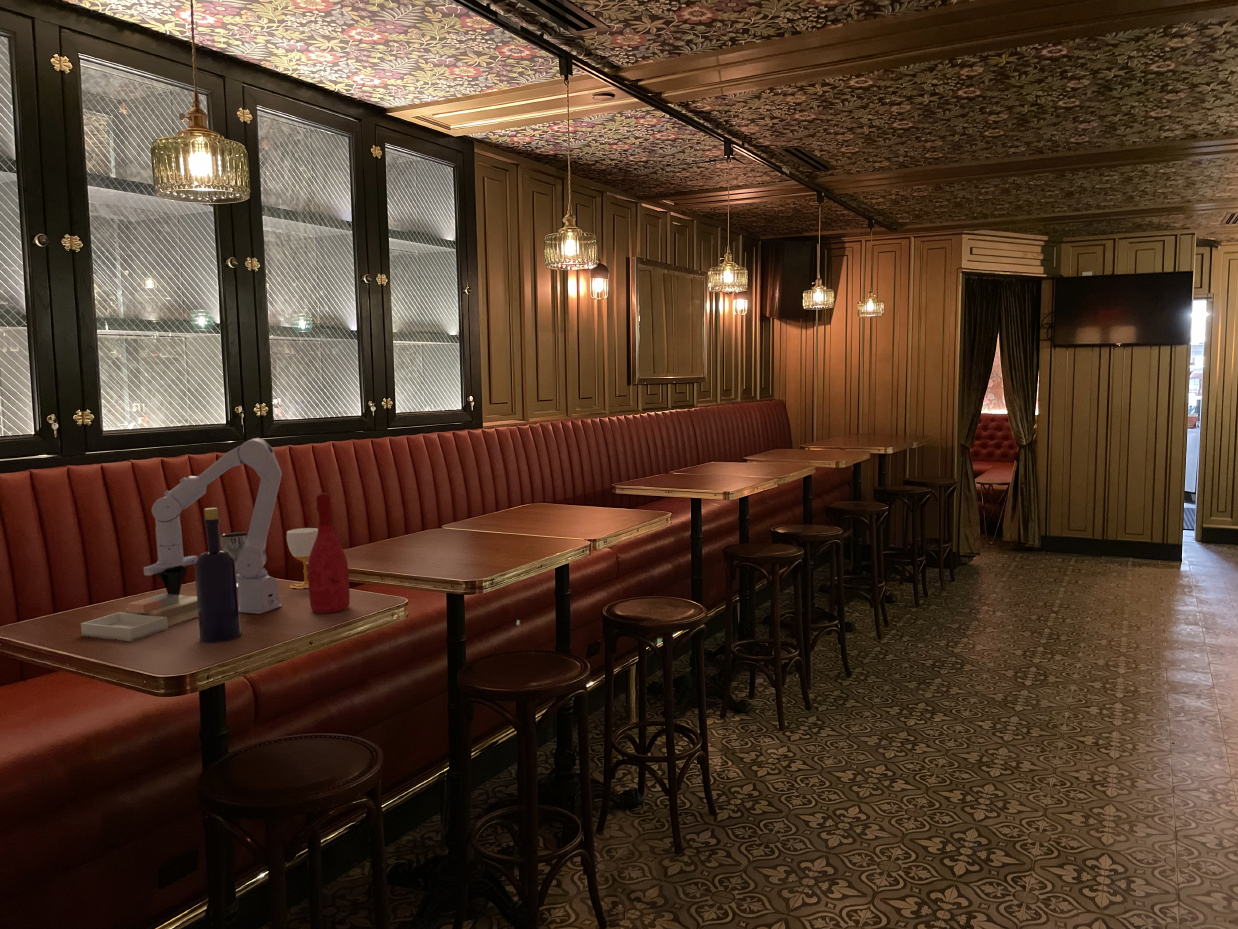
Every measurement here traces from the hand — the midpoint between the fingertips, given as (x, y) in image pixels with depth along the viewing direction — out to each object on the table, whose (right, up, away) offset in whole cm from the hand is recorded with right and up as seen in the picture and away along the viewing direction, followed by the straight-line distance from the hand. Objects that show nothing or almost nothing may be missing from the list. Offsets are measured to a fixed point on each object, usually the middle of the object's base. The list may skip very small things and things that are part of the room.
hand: (174, 597), depth 219 cm
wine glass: (+2, -2, +33) cm, 33 cm away
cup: (+22, -1, +30) cm, 38 cm away
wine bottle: (+39, -4, +3) cm, 39 cm away
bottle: (+21, -7, -19) cm, 29 cm away
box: (-5, -6, -13) cm, 15 cm away
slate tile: (-1, -1, -3) cm, 4 cm away
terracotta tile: (-3, -2, -8) cm, 8 cm away
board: (-1, -5, -1) cm, 5 cm away
